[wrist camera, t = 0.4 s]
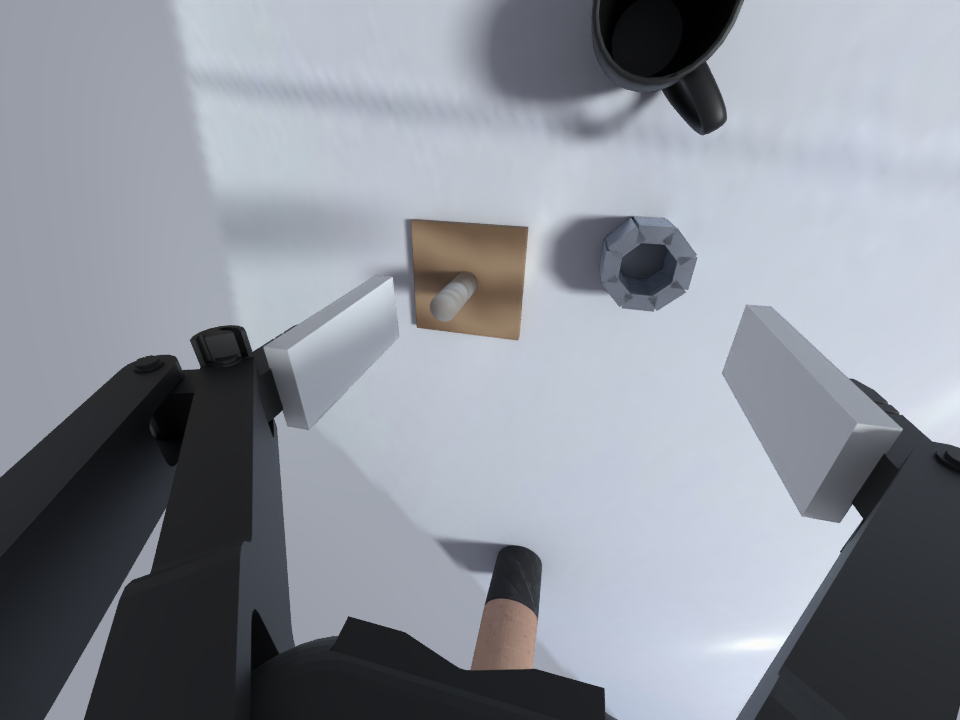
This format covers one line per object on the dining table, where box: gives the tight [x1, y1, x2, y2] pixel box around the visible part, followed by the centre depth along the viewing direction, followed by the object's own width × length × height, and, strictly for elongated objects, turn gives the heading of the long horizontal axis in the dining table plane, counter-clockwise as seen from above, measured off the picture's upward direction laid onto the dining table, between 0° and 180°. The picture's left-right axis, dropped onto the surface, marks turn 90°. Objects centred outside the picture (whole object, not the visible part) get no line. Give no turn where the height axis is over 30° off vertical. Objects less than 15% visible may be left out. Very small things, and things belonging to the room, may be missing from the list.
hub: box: [599, 216, 697, 312], centre depth 36 cm, size 7×7×5 cm
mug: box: [592, 0, 744, 135], centre depth 27 cm, size 8×12×10 cm
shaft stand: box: [411, 219, 528, 340], centre depth 39 cm, size 12×12×9 cm
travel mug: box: [471, 546, 542, 670], centre depth 54 cm, size 8×8×20 cm
